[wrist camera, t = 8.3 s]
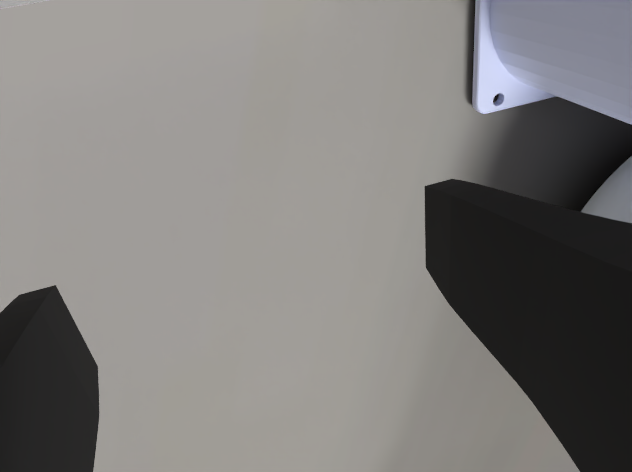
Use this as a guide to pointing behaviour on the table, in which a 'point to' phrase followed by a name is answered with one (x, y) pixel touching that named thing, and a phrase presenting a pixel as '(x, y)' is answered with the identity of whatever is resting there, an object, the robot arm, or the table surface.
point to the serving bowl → (614, 196)
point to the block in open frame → (17, 3)
